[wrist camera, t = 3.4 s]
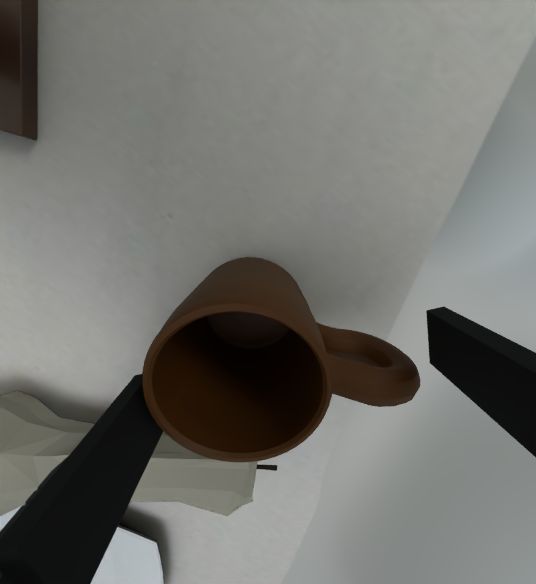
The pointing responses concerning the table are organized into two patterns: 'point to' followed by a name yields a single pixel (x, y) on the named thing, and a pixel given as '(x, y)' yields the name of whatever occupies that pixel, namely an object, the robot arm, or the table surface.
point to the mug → (260, 366)
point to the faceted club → (153, 484)
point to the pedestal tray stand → (18, 67)
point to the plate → (123, 558)
